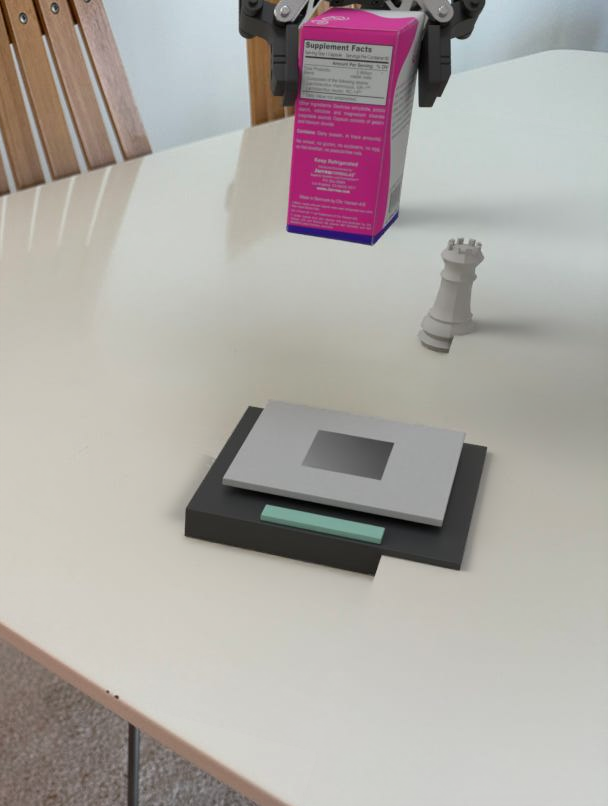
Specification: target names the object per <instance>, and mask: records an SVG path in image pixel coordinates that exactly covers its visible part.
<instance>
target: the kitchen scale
mask: <svg viewBox="0 0 608 806" xmlns="http://www.w3.org/2000/svg"><path fill="white" fill-rule="evenodd" d="M466 436H467V432H466V431H461V430H454V429H449V428H442V427H437V426H431V425H425V424H420V423H419V424H418V423H414V422H406V421H402V420H395V419H390V418H389V419H388V418H383V417H378V416H371V415H366V414H360V413H353V412H348V411H342V410H336V409H331V408H326V407H325V408H324V407H318V406H312V405H308V404H307V405H306V404H300V403H296V402H295V403H294V402H289V401H283V400H277V399H268V401H267V402H266V404H265V406H264V407H258V406H253V405H248V407H247V408H246V409H245V411H244V413H243V415H242V416H241V418H240V420H239V421H238V423H237V425H235V428H234V430H233V431H232V432H231V434H230V436H229V437H228V439H227V441H226V442H225V444H224V445H223V446H222V448H221V451H219V454H218V455H217V457H216V458H215V460H214V462H213V463H212V465H211V467H210V468H209V470H208V472H207V473H206V474H205V476H204V478H203V479H202V481H201V482H200V484H199V485H198V488H197V489H196V491H195V492H194V494H193V495H192V497H191V499H190V500H189V502H188V503H187V505H186V507H185V510H184V511H185V512H184V513H185V514H184V534H183V535H184V537H189V538H193V539H197V540H202V541H207V542H212V543H216V544H221V545H226V546H232V547H236V548H241V549H244V550H245V549H246V550H250V551H255V552H259V553H260V552H261V553H265V554H269V555H274V556H279V557H284V558H287V559H288V558H289V559H293V560H298V561H302V562H307V563H311V564H317V565H320V566H325V567H330V568H335V569H341V570H345V571H350V572H354V573H360V574H364V575H369V576H376V574H377V571H378V568H379V565H380V562H381V559H382V556H385V557H390V558H396V559H399V560H400V559H401V560H404V561H405V560H406V561H410V562H415V563H420V564H425V565H430V566H434V567H440V568H443V569H449V570H455V571H460V570H461V566H462V562H463V557H464V553H465V550H466V549H465V548H466V544H467V540H468V535H469V530H470V526H471V522H472V517H473V513H474V509H475V504H476V499H477V495H478V492H479V491H478V490H479V486H480V482H481V478H482V473H483V468H484V464H485V460H486V455H487V451H488V446H485V445H480V444H474V443H469V442H465V440H466V439H465V438H466Z"/></svg>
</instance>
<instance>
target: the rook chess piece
mask: <svg viewBox="0 0 608 806" xmlns="http://www.w3.org/2000/svg"><path fill="white" fill-rule="evenodd" d="M464 240H465V237H457V238H456V239H454V238H451V239H449V240H448V242H447V246H446V247H445V248H444V249H443V250H442V251H441V252H440V257H441V259H442V261H443V263H444V267H443V269H442V270H441V271H440V272H439V276H440V277H441V278H440V285H439V289H438V291H437V295H436V297H435V301H434V303H433V304H432V306H431V308H429V309H428V312H427V314H425V315H424V316H423V318H422V320H421V322H420V328H421V329H420V330H419V331H418V332H417V337H418V339H419V341H420V343H421V345H422V346H423V347H425V348H427V349H428V350H430V351H434V352H438V353H443V354H444V353H445V354H450V353H449V352H450V349H451V346H452V344H453V340H454V338H455V336H457V337H458V336H460V337H461V336H464V335H470V334H471V333H473V332H474V331H475V329H476V323H475V321H474V320H473V316H474V315H473V313H472V308H471V304H472V303H471V301H472V291H473V290H472V289H473V284H474V282H475V281H476V280H477V279H478V276H477V273H476V268H477V267H478V266H479V265H480V264H481V263H482V262H483V261H484V260H485V256H484V254H483V252H482V246H483V244H482V242H481V241H477V239H474V238H469V240H468V243H467V244H466V243H464ZM455 242H456V243H455Z"/></svg>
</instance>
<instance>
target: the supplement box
mask: <svg viewBox="0 0 608 806" xmlns="http://www.w3.org/2000/svg"><path fill="white" fill-rule="evenodd" d="M424 21H425V12H421V11H393V10H372V9H360V8H357V7H330V8H329V9H327V10H326V11H324V12H322V13H321V14H319V15H317V16H315V17H313V18H311V19H309V20H308V21H307V22H306V23H305V24H303V25H302V26H301V27H300V34H299V35H300V36H299V63H298V65H299V84H298V92H297V96H296V100H295V104H294V121H293V132H292V144H291V145H292V146H291V147H292V148H291V157H290V159H291V160H290V162H291V163H290V174H289V188H288V200H287V201H288V202H287V213H286V214H287V215H286V228H285V231H286V232H287V233H289V234H296V235H303V236H308V237H315V238H322V239H328V240H334V241H341V242H346V243H351V244H357V245H358V244H359V245H364V246H368V247H369V246H370V247H373V246H375V245H376V244H377V242H378V241H379V240H380V239H381V238H382V237H383V235H385V233H386V232H387V231H388V230H389V229H390V227H391V226H392V225H393V224H394V223H395V222H396V221H397V220H398V218H399V213H400V203H401V196H402V188H403V179H404V173H405V167H406V166H405V165H406V157H407V151H408V144H409V137H410V130H411V129H410V128H411V122H412V116H413V115H412V114H413V107H414V100H415V93H416V86H417V81H418V64H419V57H420V50H421V43H422V36H423V28H424Z"/></svg>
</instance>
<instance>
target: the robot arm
mask: <svg viewBox="0 0 608 806" xmlns="http://www.w3.org/2000/svg"><path fill="white" fill-rule="evenodd" d="M322 1H323V2H328V8H333V7H342V8H345V7H348V6H352V5H360V6H361V5H364V6H368V7H382V6H383V3H384V2H386V4H387V5H388V6H389V8H390V9H391V10H393V11H421V12H425V21H424V28H423V36H422V43H421V50H420V57H419V64H418V72H417V99H418V100H417V101H418V102H417V103H418V104H417V105H418V108H433V107H434V104H435V102H436V100H437V98H442V96H443V93H444V91H445V89H446V87H447V85H448V83H449V80H450V78H451V75H452V41H451V40H453V39H457V40H460V41H464V40H467V39H469V38H470V37H471V36H472V34H473V32H474V29H475V26H476V23H477V21H478V19H479V17H480V15H481V14H482V12H483V10H484V9H485V5H486V1H487V0H450V1H449V0H279V1H278V2H277V3H273V2H271V1H268V0H238V33H239V35H240V36H241V37H242V38H243V39H246V40H252V39H255V38H256V37H258V38H261V39H263V40H264V41H266V43H267V44H268V46H269V89H270V92H271V94H272V96H273V97H280V99H281V100H280V104H281V107H282V108H283V107H287V108H288V107H293V108H295V105H296V96H297V92H298V84H299V65H298V63H299V49H300V36H299V35H300V34H299V30H301V26H302V25H303V24H305V23H306V22H308V21H310V18H311V17H312V16H313V14H314V13H315V12H316V10H317V9H318V8H319V6H320V4H321V3H322Z"/></svg>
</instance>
